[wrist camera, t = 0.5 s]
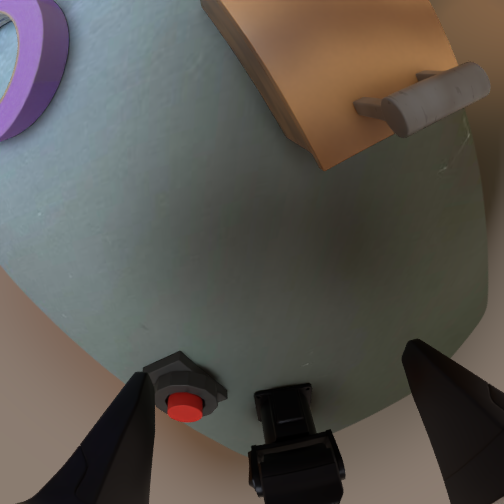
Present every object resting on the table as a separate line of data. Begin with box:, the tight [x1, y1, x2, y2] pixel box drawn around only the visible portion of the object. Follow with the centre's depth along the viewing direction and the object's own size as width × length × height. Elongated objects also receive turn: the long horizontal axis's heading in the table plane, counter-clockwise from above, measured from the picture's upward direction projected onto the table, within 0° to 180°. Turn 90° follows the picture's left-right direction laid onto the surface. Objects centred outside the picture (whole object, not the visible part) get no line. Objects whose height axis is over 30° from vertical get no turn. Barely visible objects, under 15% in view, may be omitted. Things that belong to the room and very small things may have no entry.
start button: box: [167, 392, 203, 422], centre depth 26 cm, size 3×3×2 cm
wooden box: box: [200, 0, 312, 153], centre depth 13 cm, size 11×10×6 cm
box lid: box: [217, 0, 490, 171], centre depth 8 cm, size 11×10×5 cm
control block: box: [143, 351, 227, 417], centre depth 28 cm, size 8×6×3 cm
